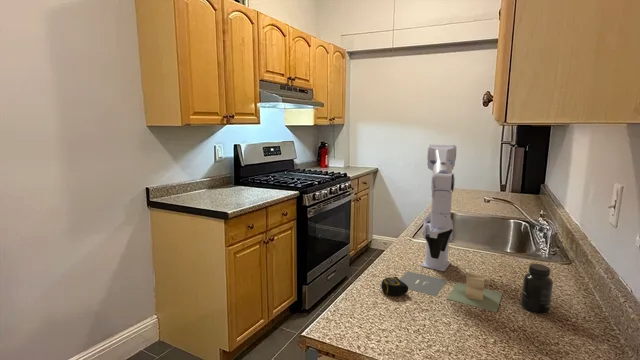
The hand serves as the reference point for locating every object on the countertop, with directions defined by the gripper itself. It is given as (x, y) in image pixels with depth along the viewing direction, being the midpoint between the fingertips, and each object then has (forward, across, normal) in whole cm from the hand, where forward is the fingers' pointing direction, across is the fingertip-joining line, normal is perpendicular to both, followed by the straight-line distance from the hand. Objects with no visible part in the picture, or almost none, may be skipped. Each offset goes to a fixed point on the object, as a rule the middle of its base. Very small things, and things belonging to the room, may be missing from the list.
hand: (438, 254), depth 112 cm
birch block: (+9, +3, +12) cm, 15 cm away
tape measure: (+10, +13, -9) cm, 19 cm away
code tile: (+9, +3, -4) cm, 11 cm away
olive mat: (+9, +3, +12) cm, 16 cm away
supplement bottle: (+10, +1, +27) cm, 29 cm away
